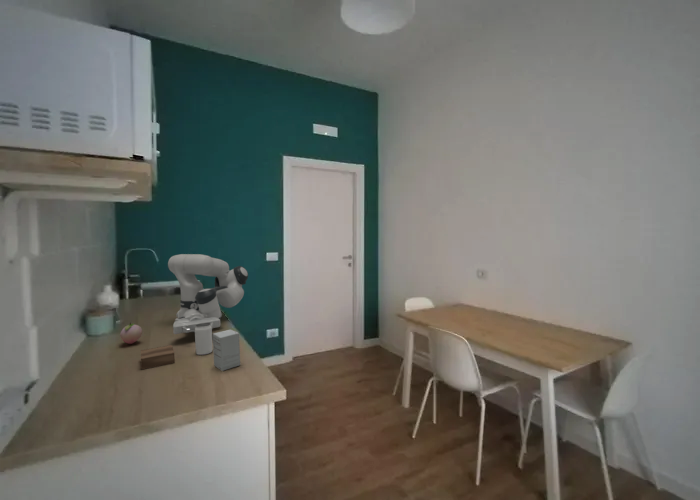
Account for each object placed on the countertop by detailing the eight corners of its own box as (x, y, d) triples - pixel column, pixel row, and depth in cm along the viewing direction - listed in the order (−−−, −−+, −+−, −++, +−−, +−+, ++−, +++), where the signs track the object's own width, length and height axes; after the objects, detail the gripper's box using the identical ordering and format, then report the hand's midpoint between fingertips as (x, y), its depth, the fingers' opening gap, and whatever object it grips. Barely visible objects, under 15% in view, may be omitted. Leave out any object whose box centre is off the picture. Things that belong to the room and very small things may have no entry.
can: (215, 349, 142) (214, 322, 142) (207, 355, 136) (206, 326, 135) (201, 349, 143) (200, 322, 142) (192, 355, 137) (191, 326, 136)
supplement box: (232, 360, 131) (230, 328, 130) (240, 365, 125) (239, 332, 125) (213, 365, 125) (212, 333, 125) (221, 371, 120) (220, 337, 119)
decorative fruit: (141, 345, 149) (140, 323, 149) (119, 348, 146) (118, 326, 145) (144, 339, 158) (142, 319, 157) (123, 342, 154) (122, 321, 154)
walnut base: (141, 360, 132) (140, 350, 132) (172, 354, 138) (172, 344, 138) (141, 369, 123) (140, 359, 123) (174, 362, 129) (174, 352, 128)
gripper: (218, 325, 167) (223, 332, 155) (172, 332, 156) (174, 340, 144) (217, 312, 166) (223, 318, 155) (171, 319, 155) (174, 326, 144)
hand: (199, 329), depth 149 cm, fingers open, 8 cm apart
